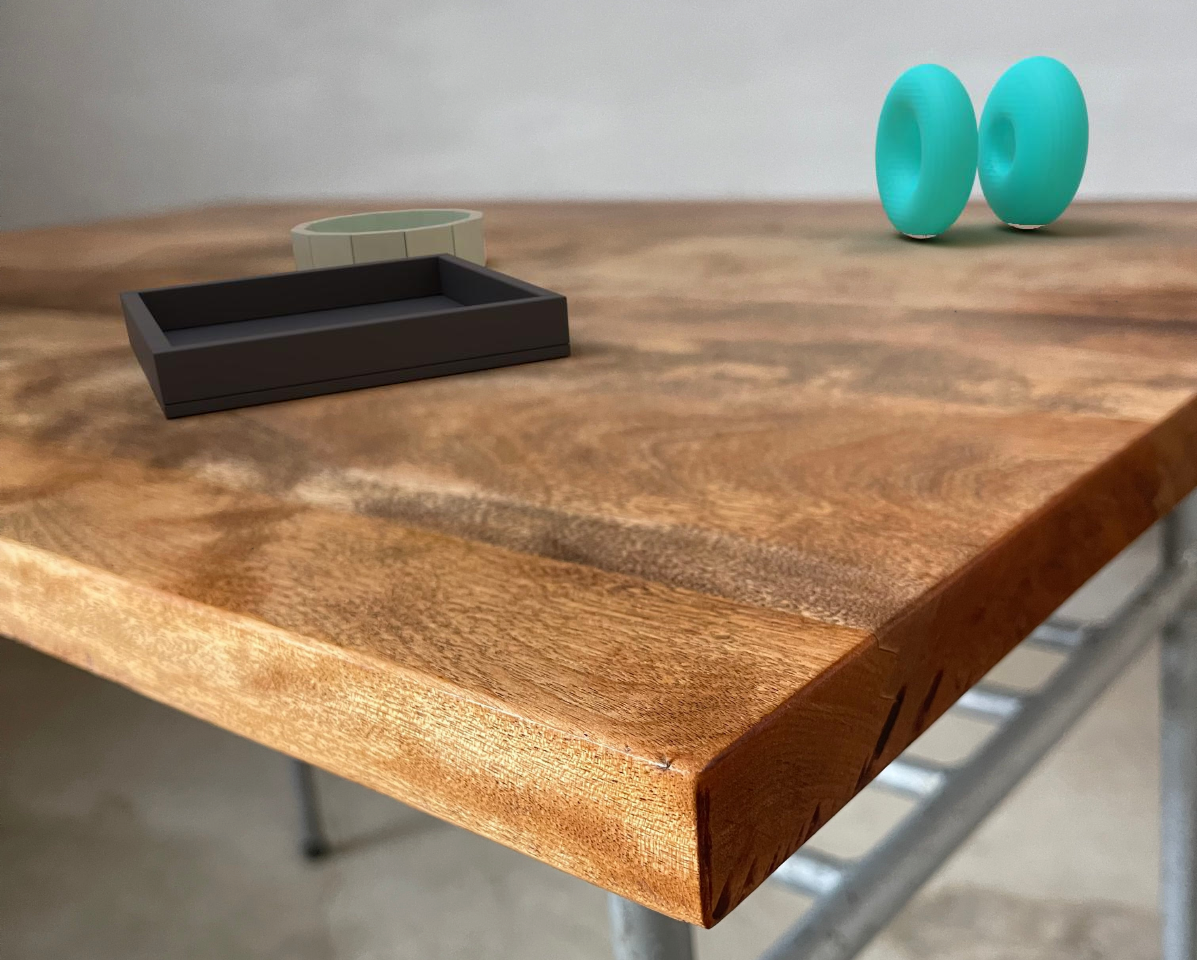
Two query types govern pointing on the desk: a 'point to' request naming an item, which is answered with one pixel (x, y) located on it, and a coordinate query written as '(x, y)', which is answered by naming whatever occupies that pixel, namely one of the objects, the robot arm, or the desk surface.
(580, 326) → the desk surface
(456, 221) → the segmented polygonal ring
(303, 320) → the tray
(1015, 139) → the donuts
